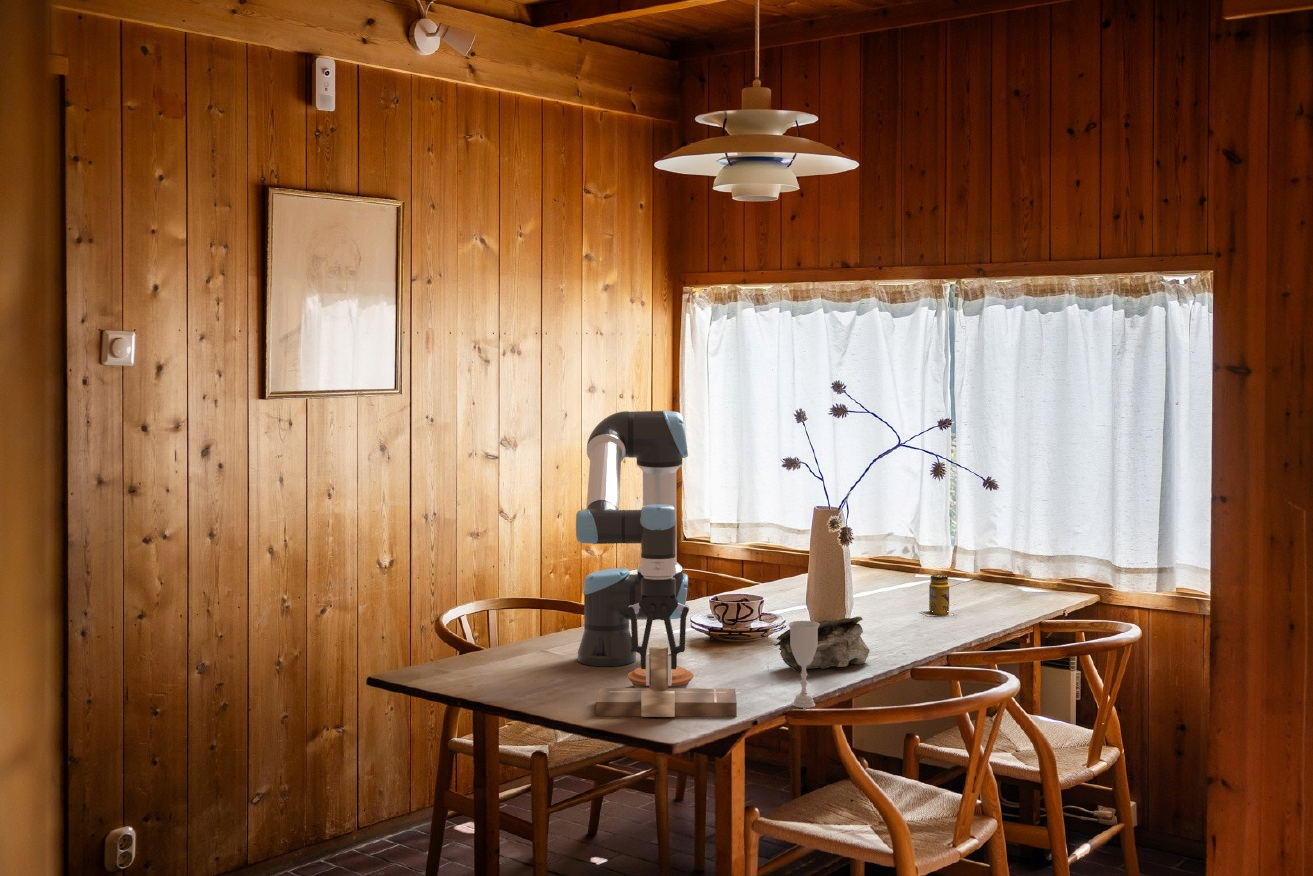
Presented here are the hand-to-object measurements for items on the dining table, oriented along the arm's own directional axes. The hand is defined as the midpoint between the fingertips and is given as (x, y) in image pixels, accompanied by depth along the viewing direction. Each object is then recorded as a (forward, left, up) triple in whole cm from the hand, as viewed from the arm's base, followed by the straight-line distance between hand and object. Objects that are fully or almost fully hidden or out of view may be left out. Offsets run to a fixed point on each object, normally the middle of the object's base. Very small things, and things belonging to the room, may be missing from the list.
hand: (658, 683), depth 261 cm
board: (-1, +3, -6) cm, 7 cm away
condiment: (-47, +133, -6) cm, 141 cm away
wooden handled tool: (0, 0, -6) cm, 6 cm away
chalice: (+13, +30, -6) cm, 33 cm away
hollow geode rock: (-13, +57, -6) cm, 59 cm away
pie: (-16, +11, -7) cm, 20 cm away
